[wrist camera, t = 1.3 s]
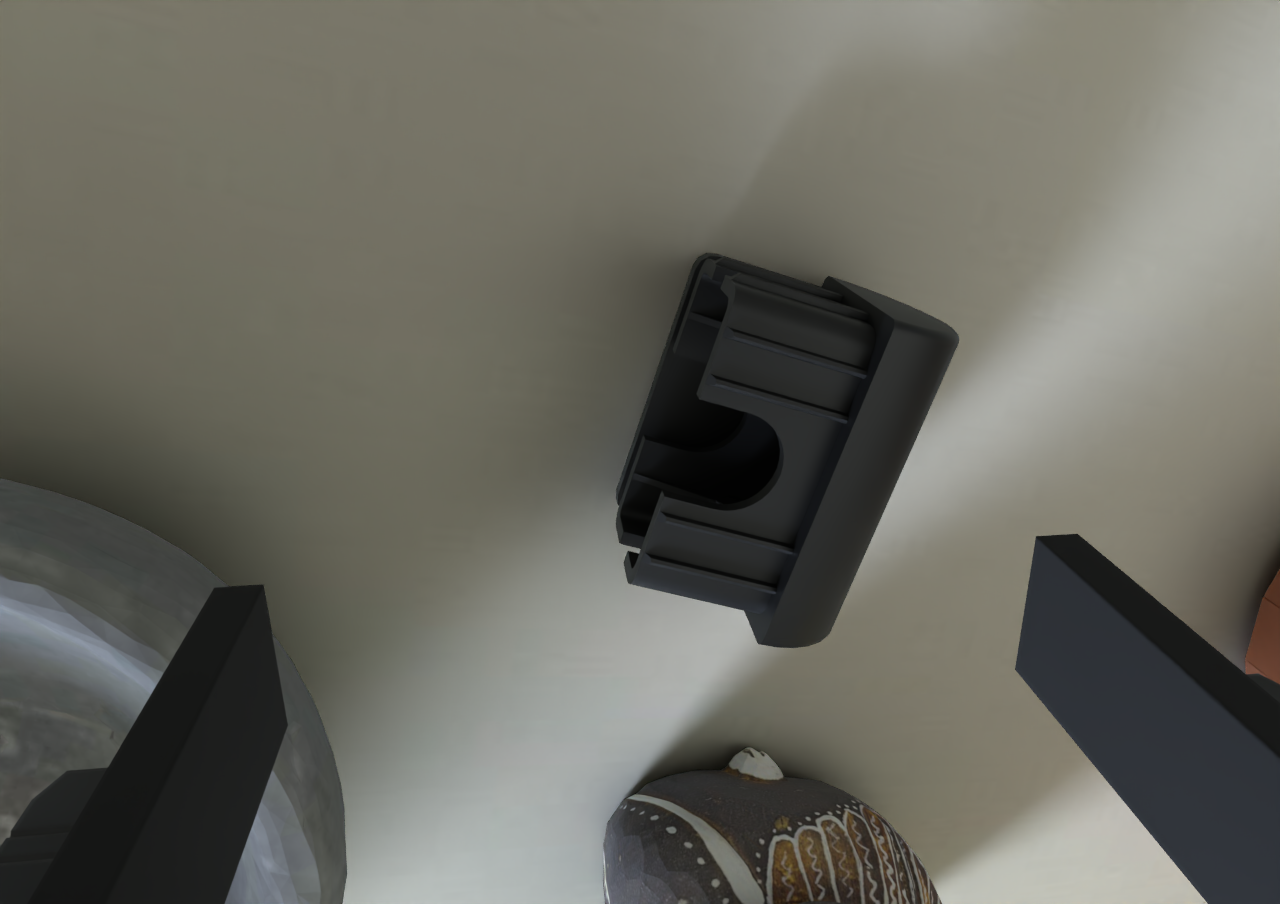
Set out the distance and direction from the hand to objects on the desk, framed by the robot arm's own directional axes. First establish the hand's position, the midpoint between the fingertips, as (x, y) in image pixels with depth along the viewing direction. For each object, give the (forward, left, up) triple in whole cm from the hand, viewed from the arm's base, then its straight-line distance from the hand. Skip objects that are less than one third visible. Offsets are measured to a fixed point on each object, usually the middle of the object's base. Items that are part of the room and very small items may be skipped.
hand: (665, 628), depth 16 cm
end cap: (-1, +5, -16) cm, 17 cm away
